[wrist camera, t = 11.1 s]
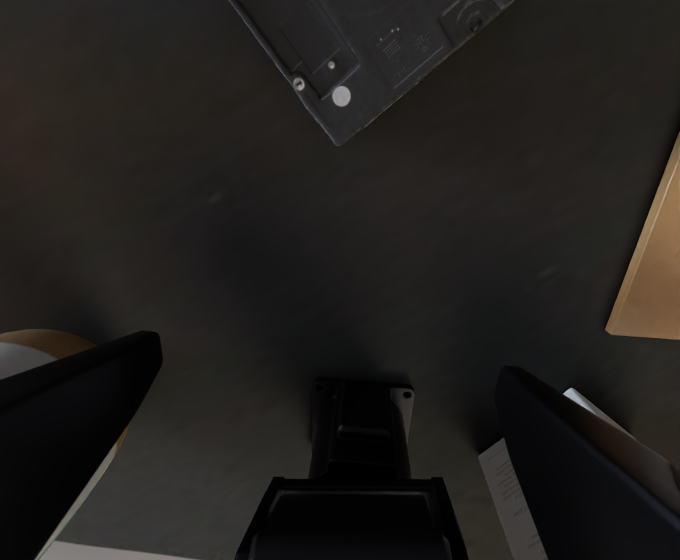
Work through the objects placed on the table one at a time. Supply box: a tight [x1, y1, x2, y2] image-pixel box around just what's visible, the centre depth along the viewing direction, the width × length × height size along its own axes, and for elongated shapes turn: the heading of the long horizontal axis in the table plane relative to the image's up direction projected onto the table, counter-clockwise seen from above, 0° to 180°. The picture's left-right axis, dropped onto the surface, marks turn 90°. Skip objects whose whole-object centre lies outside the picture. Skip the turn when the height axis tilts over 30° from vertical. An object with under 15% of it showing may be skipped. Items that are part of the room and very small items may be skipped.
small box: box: [478, 388, 636, 560], centre depth 18 cm, size 8×6×13 cm
